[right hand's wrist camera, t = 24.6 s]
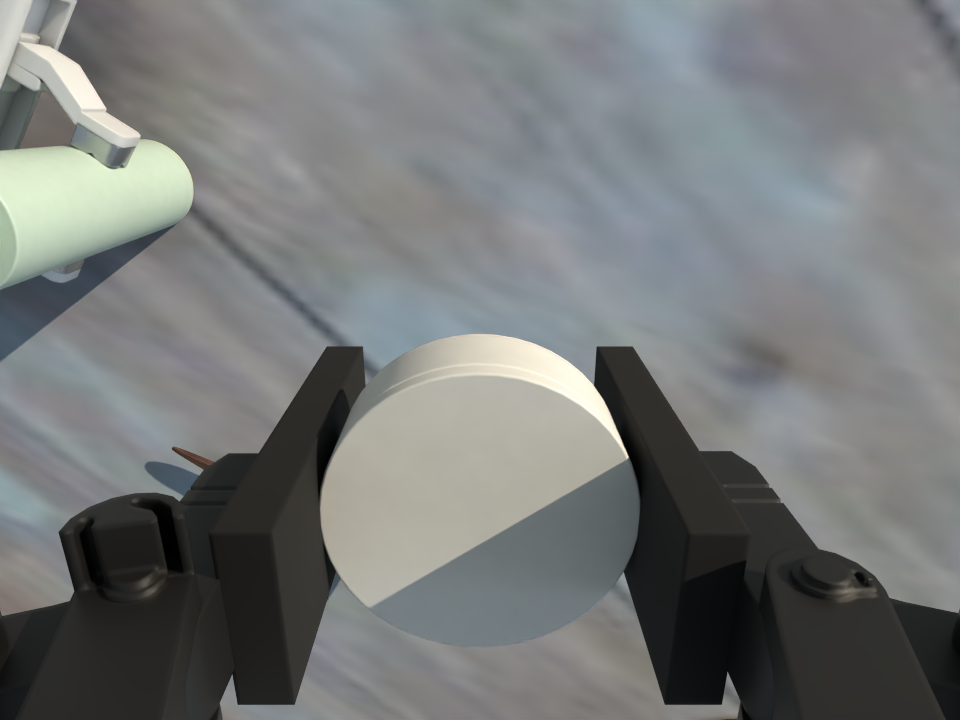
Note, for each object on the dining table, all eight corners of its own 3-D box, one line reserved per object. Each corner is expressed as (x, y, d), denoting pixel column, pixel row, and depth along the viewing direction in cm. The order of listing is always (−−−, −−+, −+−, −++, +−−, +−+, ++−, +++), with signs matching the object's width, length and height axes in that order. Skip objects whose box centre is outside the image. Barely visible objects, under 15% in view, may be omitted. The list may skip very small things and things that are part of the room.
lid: (327, 335, 11) (298, 377, 9) (626, 329, 11) (652, 369, 9) (354, 579, 13) (335, 650, 11) (612, 574, 13) (632, 645, 11)
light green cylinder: (105, 131, 34) (-186, 147, 19) (195, 148, 34) (-22, 177, 19) (106, 219, 35) (-162, 298, 20) (192, 235, 35) (-11, 323, 21)
